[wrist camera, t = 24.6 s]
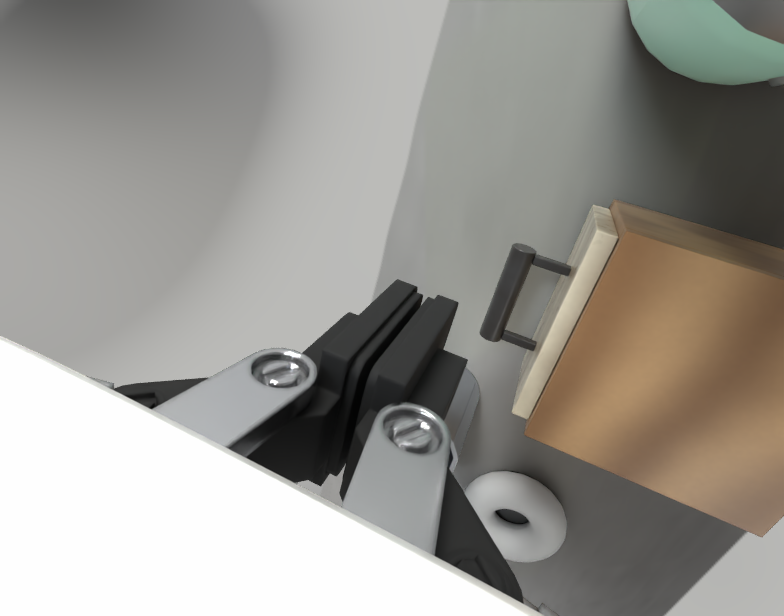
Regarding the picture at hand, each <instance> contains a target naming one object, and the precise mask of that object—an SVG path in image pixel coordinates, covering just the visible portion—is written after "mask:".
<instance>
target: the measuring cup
mask: <svg viewBox="0 0 784 616" xmlns="http://www.w3.org/2000/svg"><path fill="white" fill-rule="evenodd" d="M478 400H479V386H478V383H477V381H476V379H475V377H474V376H473V375H472V373H471V372H470V371H469V370H467V369H466V368H465V369H464V372H463V375H462V377H461V380H460V383H459V385H458V388H457V390H456V393H455V396H454V398H453V401H452V403H451V406H450V408H449V411H448V413H447V415H446V418H445V420H444V422H445V423H446V425H447V427H448V429H449V431H450V433H451V446H450V453H449V460H448V467H449V469H450V471H451V472H452V473H453V471H454V468H455V466H456V464H457V461H458V459H459V456H460V453H461V450H462V447H463V444H464V441H465V438H466V435H467V432H468V429H469V426H470V424H471V421H472V418H473V415H474V412H475V409H476V406H477V403H478Z"/></svg>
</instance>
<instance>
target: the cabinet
mask: <svg viewBox="0 0 784 616" xmlns="http://www.w3.org/2000/svg"><path fill="white" fill-rule="evenodd" d="M609 209H610V211H611V215H612V218H613V221H614V224H615V227H616V230H617V233H618V237H619V239H618V240H619V241H617V242H618V243H616V244H617V245H615V246H616V247H614V248H615V249H613V250H614V251H612V252H613V253H611V254H612V255H610V256H611V257H609V258H610V259H608V260H609V261H607V262H608V263H606V264H607V265H605V266H606V267H604V268H605V269H603V270H604V271H602V272H603V273H601V274H602V275H600V276H601V277H599V278H600V279H598V280H599V281H597V282H598V283H596V284H597V285H595V286H596V287H594V288H595V289H593V290H594V291H592V293H591V295H590V297H589V299H588V301H587V303H586V305H585V307H584V309H583V311H582V313H581V315H580V317H579V319H578V321H577V323H576V325H575V327H574V329H573V331H572V333H571V335H570V337H569V339H568V341H567V343H566V345H565V347H564V349H563V351H562V353H561V355H560V357H559V359H558V361H557V363H556V365H555V367H554V369H553V371H552V373H551V375H550V377H549V379H548V381H547V383H546V385H545V387H544V389H543V391H542V393H541V395H540V397H539V399H538V401H537V403H536V405H535V407H534V409H533V411H532V413H531V415H530V417H529V419H528V420H526V426H525V431H524V435H525V436H528V437H530V438H532V439H535V440H537V441H539V442H542V443H544V444H546V445H549V446H551V447H553V448H555V449H558V450H560V451H562V452H565V453H567V454H569V455H572V456H574V457H576V458H579V459H581V460H583V461H586V462H588V463H590V464H593V465H595V466H597V467H600V468H602V469H604V470H607V471H609V472H611V473H613V474H616V475H618V476H620V477H623V478H625V479H627V480H630V481H632V482H634V483H637V484H639V485H641V486H644V487H646V488H648V489H651V490H653V491H655V492H658V493H660V494H662V495H665V496H667V497H669V498H671V499H674V500H676V501H678V502H681V503H683V504H685V505H688V506H690V507H692V508H695V509H697V510H699V511H702V512H704V513H706V514H709V515H711V516H713V517H716V518H718V519H720V520H722V521H725V522H727V523H729V524H732V525H734V526H736V527H739V528H741V529H743V530H746V531H748V532H750V533H753V534H755V535H757V536H760V537H763V536H764V535H765V534H766V533H767V532H768V531H769V530H770V529H771V528H772V527H773V526H774V525H775V524H776V523H777V522H778V521H779V520H780V519H781V518H782V517H783V516H784V249H780V248H777V247H774V246H770V245H767V244H764V243H760V242H757V241H753V240H750V239H747V238H743V237H740V236H737V235H733V234H730V233H727V232H723V231H720V230H716V229H713V228H710V227H706V226H703V225H700V224H696V223H693V222H690V221H686V220H683V219H680V218H676V217H673V216H669V215H666V214H663V213H659V212H656V211H653V210H649V209H646V208H643V207H639V206H636V205H633V204H629V203H626V202H622V201H619V200H616V199H614V200H613V201H612V203H611V206H610V208H609Z"/></svg>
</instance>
